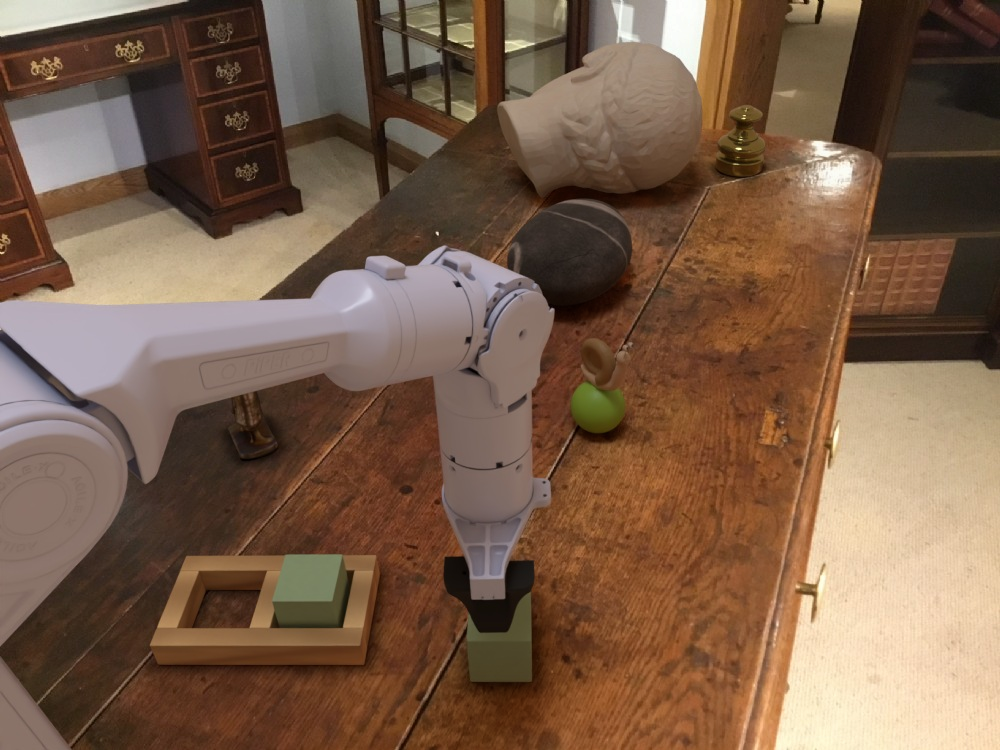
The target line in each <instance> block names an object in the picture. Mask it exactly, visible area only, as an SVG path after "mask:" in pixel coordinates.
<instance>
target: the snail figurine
mask: <svg viewBox="0 0 1000 750" xmlns="http://www.w3.org/2000/svg"><path fill="white" fill-rule="evenodd" d="M633 347H634V343H633V342H632V341H629V342H628V343H627V344H623V345H622V348H621V349H622V350H620V351H619V352H617V354H616V356H615V354H614V352H613V351H612V348H611V347H610V346H609V345H608V344H607V343H606V342H605V341H603V340H602V339H600V338H596V337H590V338H587V339H586V340H585V341H583V342H582V345H581V348H580V356H581V357H580V358H581V360H582V362H583V363H582V364H581V365H580V368H581V369H580V370H581V372H582V374H583V376H584V378H585V379H586V381H584V382H582V383H581V384H580V385H578V386H577V387H576V389H575V390H574V392H573V394H572V396H571V399H570V413H571V415H572V418H573V421H574V422H575V423H576V424H577V425H578V426H579V427H580V429H583V430H585V431H587V432H588V433H592V434H605V433H607V432H610V431H613V429H615V428H617V426H618V425H620V423H621V422H622V420H623V418H624V416H625V413H626V400H625V396H624V394H623V392H622V390H621V389H620V387H621V386H622V384H623V382H624V380H625V378H626V375H627V372H628V367H629V366H630V364H631V361H632V356H631V351H632V349H633ZM628 350H629V352H628Z"/></svg>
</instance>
